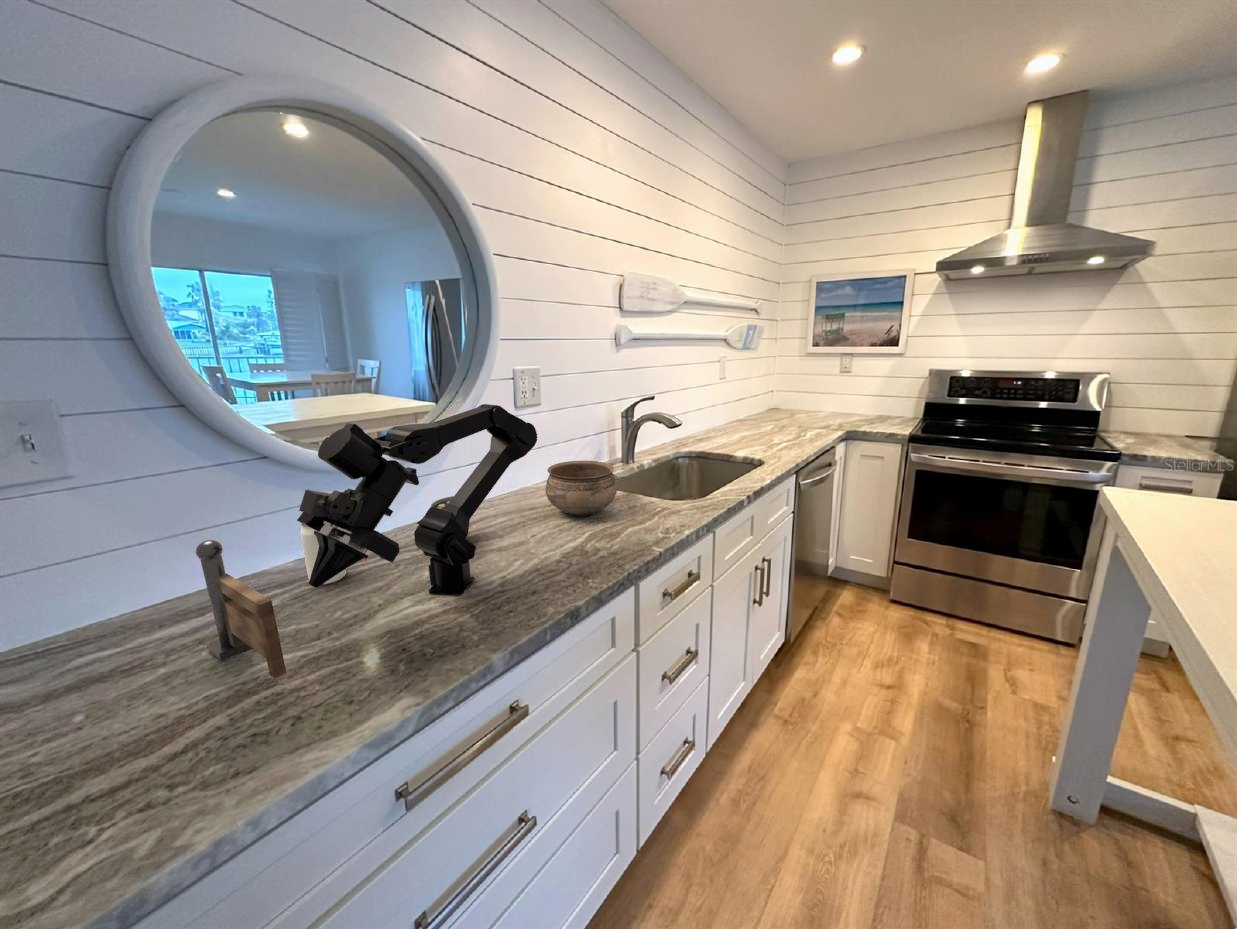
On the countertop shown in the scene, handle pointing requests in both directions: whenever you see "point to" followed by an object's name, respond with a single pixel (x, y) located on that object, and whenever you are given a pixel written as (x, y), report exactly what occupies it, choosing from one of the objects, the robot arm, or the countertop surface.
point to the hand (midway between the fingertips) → (312, 586)
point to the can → (314, 552)
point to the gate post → (216, 598)
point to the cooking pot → (581, 486)
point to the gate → (251, 621)
